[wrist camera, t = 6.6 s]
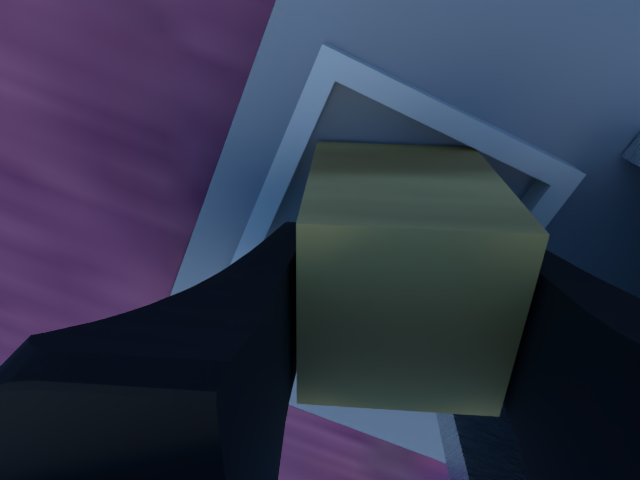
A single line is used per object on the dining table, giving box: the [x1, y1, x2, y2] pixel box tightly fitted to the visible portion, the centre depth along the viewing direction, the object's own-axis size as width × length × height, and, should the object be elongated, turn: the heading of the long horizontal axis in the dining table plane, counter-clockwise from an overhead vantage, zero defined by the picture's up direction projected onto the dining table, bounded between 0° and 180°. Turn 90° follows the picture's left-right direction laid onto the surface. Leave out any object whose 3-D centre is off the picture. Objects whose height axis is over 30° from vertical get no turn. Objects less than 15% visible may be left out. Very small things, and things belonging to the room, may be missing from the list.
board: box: [170, 0, 640, 463], centre depth 14 cm, size 16×17×2 cm
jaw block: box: [296, 141, 550, 417], centre depth 10 cm, size 4×4×5 cm
